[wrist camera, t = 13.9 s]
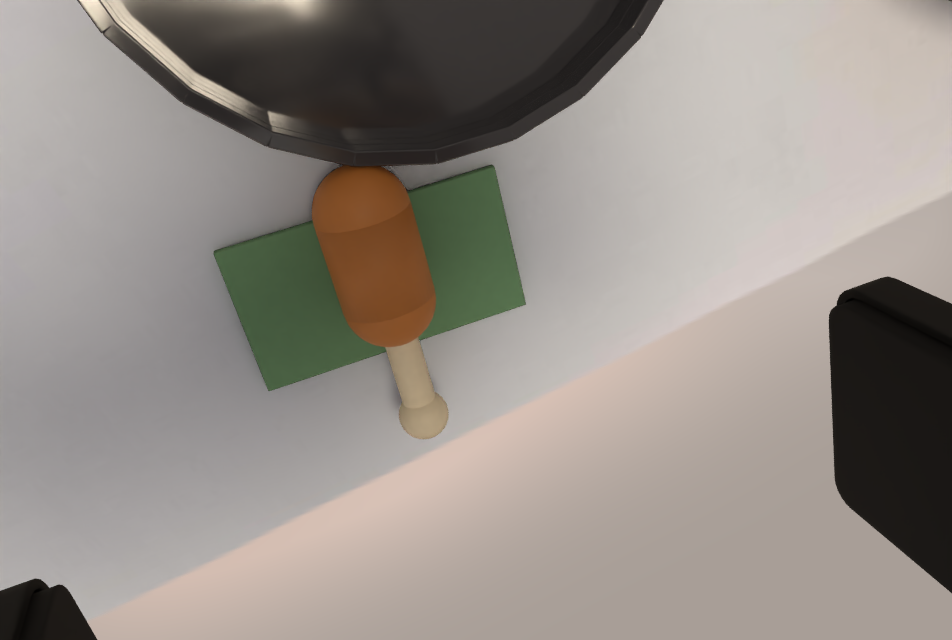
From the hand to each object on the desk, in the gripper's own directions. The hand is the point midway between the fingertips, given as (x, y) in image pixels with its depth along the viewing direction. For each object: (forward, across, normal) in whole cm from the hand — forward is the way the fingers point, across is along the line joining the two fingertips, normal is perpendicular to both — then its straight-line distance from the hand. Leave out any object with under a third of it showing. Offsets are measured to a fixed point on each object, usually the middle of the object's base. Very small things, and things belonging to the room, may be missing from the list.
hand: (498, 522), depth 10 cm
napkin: (+20, -1, +4) cm, 21 cm away
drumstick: (+20, -1, +5) cm, 21 cm away
